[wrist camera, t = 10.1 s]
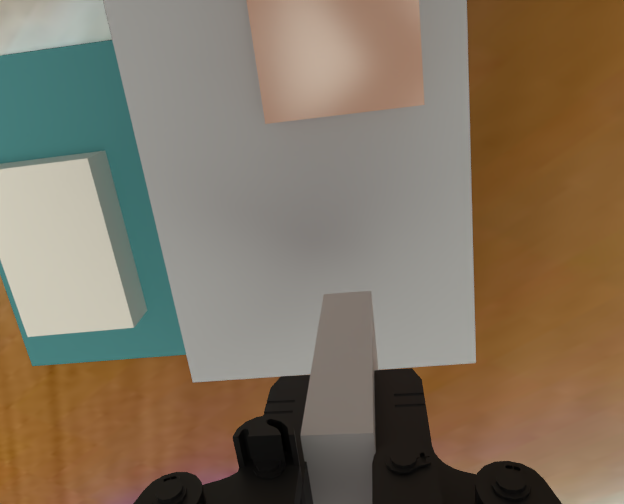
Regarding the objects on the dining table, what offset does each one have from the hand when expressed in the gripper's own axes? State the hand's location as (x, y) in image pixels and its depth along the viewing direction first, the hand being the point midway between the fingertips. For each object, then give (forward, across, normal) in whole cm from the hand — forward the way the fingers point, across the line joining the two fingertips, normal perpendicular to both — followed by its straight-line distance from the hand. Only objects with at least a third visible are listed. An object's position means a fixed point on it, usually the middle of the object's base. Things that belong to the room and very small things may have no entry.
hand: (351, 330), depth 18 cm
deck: (+12, -2, +4) cm, 13 cm away
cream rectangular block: (+9, -15, 0) cm, 18 cm away
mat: (+11, -14, +1) cm, 18 cm away
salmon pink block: (+8, 0, +10) cm, 13 cm away
